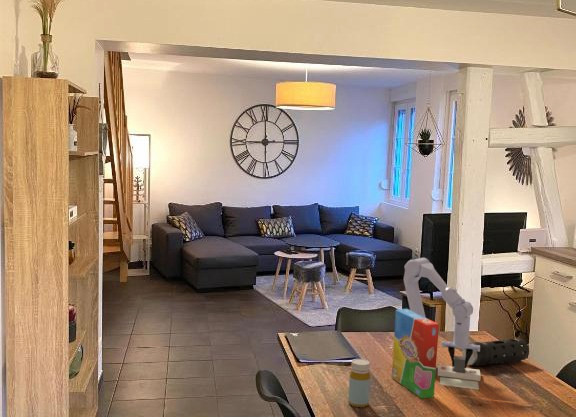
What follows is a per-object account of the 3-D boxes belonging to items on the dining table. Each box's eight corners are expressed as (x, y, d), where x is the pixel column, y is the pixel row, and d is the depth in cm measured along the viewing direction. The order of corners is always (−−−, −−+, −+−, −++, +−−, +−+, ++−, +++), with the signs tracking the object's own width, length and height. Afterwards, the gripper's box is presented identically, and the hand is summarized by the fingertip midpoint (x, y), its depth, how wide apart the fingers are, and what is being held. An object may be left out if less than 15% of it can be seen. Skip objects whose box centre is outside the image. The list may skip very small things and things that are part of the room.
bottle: (346, 399, 212) (348, 358, 211) (366, 399, 213) (368, 358, 211) (350, 408, 205) (352, 365, 204) (370, 408, 206) (373, 365, 204)
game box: (391, 378, 234) (394, 309, 232) (403, 376, 236) (407, 308, 234) (422, 399, 215) (426, 324, 213) (434, 397, 217) (439, 323, 215)
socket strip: (437, 376, 238) (438, 370, 237) (437, 370, 244) (438, 364, 244) (480, 382, 234) (480, 375, 233) (479, 375, 240) (479, 369, 240)
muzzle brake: (528, 365, 255) (530, 341, 254) (474, 372, 245) (476, 347, 244) (512, 358, 264) (514, 334, 263) (460, 364, 254) (461, 340, 253)
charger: (453, 376, 237) (454, 358, 237) (453, 372, 241) (454, 355, 241) (464, 377, 236) (465, 360, 236) (463, 374, 240) (464, 356, 240)
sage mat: (439, 385, 228) (440, 384, 228) (440, 378, 236) (440, 377, 236) (478, 391, 225) (478, 389, 225) (477, 383, 232) (477, 381, 232)
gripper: (442, 333, 235) (440, 367, 237) (481, 338, 232) (478, 372, 233) (442, 328, 242) (440, 361, 243) (480, 332, 238) (478, 366, 240)
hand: (459, 366), depth 239 cm, fingers closed on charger, 4 cm apart
